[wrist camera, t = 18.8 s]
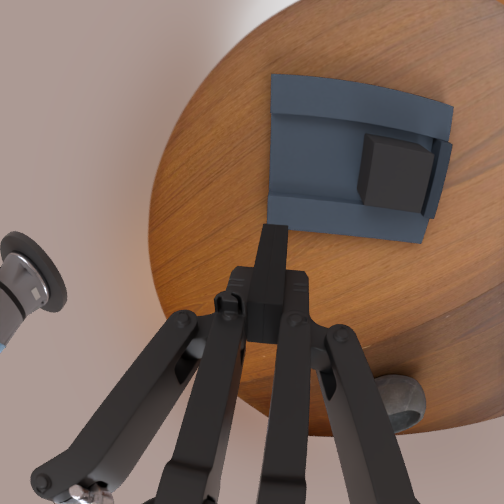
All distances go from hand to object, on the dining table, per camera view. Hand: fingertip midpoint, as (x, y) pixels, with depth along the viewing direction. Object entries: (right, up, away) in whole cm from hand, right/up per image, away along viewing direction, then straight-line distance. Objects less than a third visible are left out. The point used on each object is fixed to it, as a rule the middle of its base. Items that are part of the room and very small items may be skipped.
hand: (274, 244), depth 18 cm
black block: (+12, +8, +8) cm, 17 cm away
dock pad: (+9, +9, +9) cm, 16 cm away
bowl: (+25, -26, +31) cm, 48 cm away
